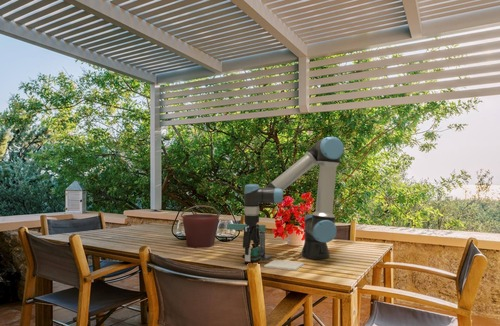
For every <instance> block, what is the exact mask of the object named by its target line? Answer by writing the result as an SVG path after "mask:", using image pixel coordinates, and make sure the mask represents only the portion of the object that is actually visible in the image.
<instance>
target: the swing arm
mask: <svg viewBox="0 0 500 326" xmlns="http://www.w3.org/2000/svg"><path fill="white" fill-rule="evenodd" d="M244 227H247V224H245V223H230V222H229V223H227V224H226V230H230V231H231V230H234V231H235V230H236V231H244ZM266 227H267V225H266V224H259V232H260V231H264V232H266Z"/></svg>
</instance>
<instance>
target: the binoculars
mask: <svg viewBox="0 0 500 326" xmlns="http://www.w3.org/2000/svg"><path fill="white" fill-rule="evenodd" d="M255 245H256V246H255ZM251 246H252V247H250V262H253V263H258V264H262V260H261V259H260V258H261V253H260V252H261V251H260V245H259V242H255V244H253V243H251ZM241 258H242V259H244V264H251V263H250V262H248V261H245V253H244V254H243V255H241ZM253 263H252V264H253Z"/></svg>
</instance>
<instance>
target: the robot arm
mask: <svg viewBox="0 0 500 326" xmlns="http://www.w3.org/2000/svg"><path fill="white" fill-rule="evenodd" d="M344 150H345V146H344V144H343V142H342V140H340V139H339V137H336V136H327V137H324V138H320V139H319V140H318V141H316V142H315V143H314V144H313V145H312V146H311V147H310V148H309V149H307V151H306V152H305V154H304V156H302V157H301V158H299V159H298V160H297V161H296V162H294V163H293V164H292V165H291V166H290V167H288V168H287V169H286V170H285V171H284V172H282V173H281V174H280V175H278V176H277V177H276V178H275V179H274V180H272V181H271V182H270V183H269V184H268V185H266V186H264V187H262V188H261V187H260V185H259V184H253V183H252V184H250V183H249V184H245V185H244V191H243V192H244V193H243V195H244V198H243V199H244V201H243V203H244V205H243V207H244V208H243V209H244V211H243V213H244V217H243V221H244V224H245V223H247V227H244V230H243V240H242V248H243V249H244V254H245V259H244V262H245V261H248V262H250V256H251V255H250V253H251V247H250V246H251V242H253V243H252V244H255V242H259V246H260V231H259V225H260V224H259V222H260V215H259V214H260V210H261V209H260V204H263V203H264V204H280V203H282V202H283V199H284V190H285V189H287V188H288V187H290V186H291V185H292V184H293V183H294V182H296V180H298V179H299V178H300V177H301V176H303V175H304V174H305V173H306V172H308V171H309V170H310V169H312V168H313V167H314V166H318V165H319V170H318V180H317V181H318V184H317V192H316V193H317V194H316V203H315V211H314V212H313V213H312V214H305V216H304V243H303V247H302V250H301V257H303V258H305V259H311V260H325V259H329V258H330V251H329V248H328V244H327V243H330V242H331V241H333V240H334V239H335V238H336V236H337V233H338V232H337V231H338V230H337V226H336V223H335V222H336V216H335V214H334V213H333V212H334V211H333V209H334V200H335V199H334V198H335V188H336V176H337V175H336V174H337V167H338V166H339V165H340V163H341V157H342V155H343V154H344ZM256 223H257V224H256ZM251 237H252V239H253V240H251ZM255 246H256V245H255Z"/></svg>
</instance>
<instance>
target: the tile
mask: <svg viewBox="0 0 500 326" xmlns="http://www.w3.org/2000/svg"><path fill="white" fill-rule="evenodd" d="M304 265H305V262H299V261H292V260H291V261H289V260H281V259H280V260H279V259H273V260H272V261H269V262H268V263H266V264H264V265H263V266H264V267H263V268H269V269H277V270H285V271H287V270H288V271H293V272H295V271H297V270H299V269H300V268H301V267H302V266H304Z"/></svg>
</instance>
